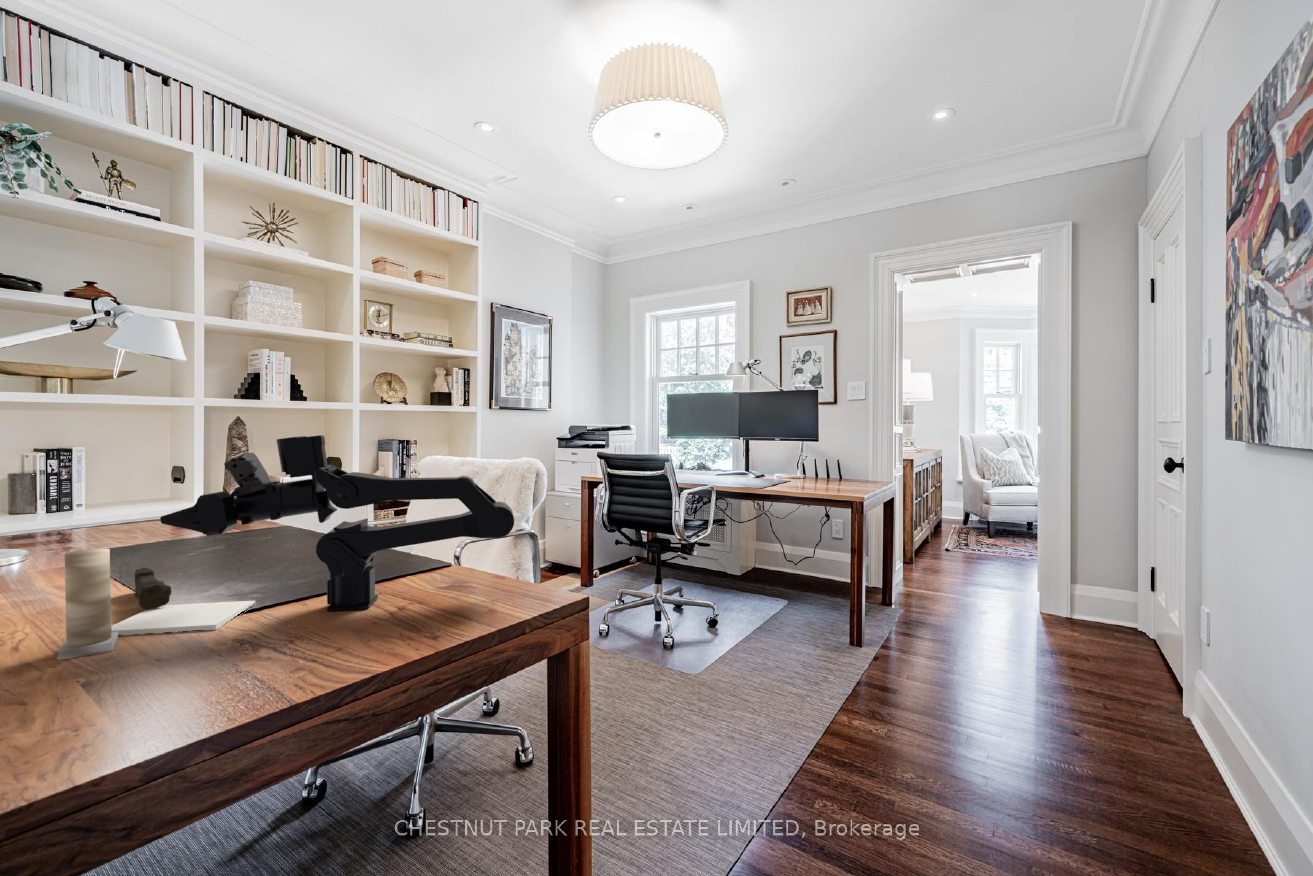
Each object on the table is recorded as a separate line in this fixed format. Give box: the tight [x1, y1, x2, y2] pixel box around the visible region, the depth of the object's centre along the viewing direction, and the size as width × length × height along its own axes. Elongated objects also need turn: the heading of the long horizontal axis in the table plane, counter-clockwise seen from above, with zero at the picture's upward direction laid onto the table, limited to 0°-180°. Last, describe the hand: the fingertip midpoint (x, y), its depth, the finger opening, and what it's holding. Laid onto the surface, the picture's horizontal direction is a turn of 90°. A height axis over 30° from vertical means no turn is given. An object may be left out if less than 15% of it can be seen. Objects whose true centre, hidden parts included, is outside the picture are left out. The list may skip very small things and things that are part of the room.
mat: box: [111, 600, 256, 636], centre depth 91 cm, size 15×12×1 cm
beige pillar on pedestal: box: [57, 547, 119, 661], centre depth 79 cm, size 5×5×14 cm
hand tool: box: [134, 567, 172, 611], centre depth 100 cm, size 19×4×5 cm, turn 45°
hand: (177, 515), depth 91 cm, fingers open, 9 cm apart
